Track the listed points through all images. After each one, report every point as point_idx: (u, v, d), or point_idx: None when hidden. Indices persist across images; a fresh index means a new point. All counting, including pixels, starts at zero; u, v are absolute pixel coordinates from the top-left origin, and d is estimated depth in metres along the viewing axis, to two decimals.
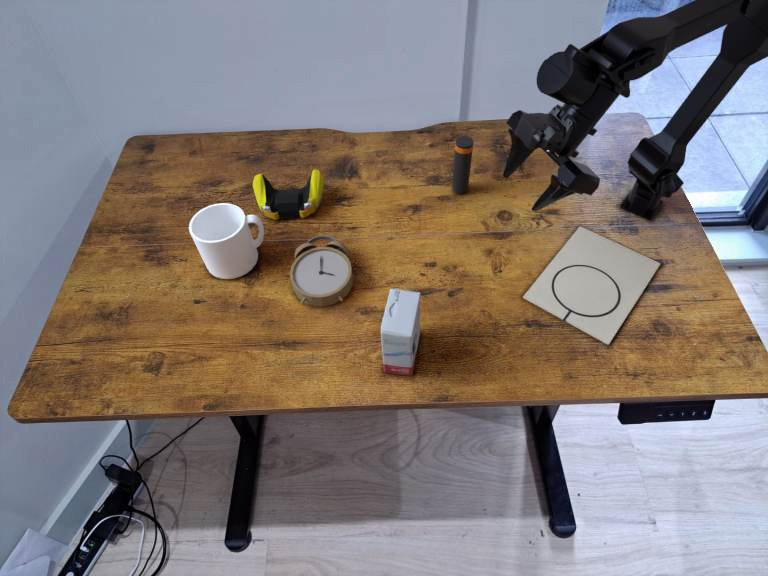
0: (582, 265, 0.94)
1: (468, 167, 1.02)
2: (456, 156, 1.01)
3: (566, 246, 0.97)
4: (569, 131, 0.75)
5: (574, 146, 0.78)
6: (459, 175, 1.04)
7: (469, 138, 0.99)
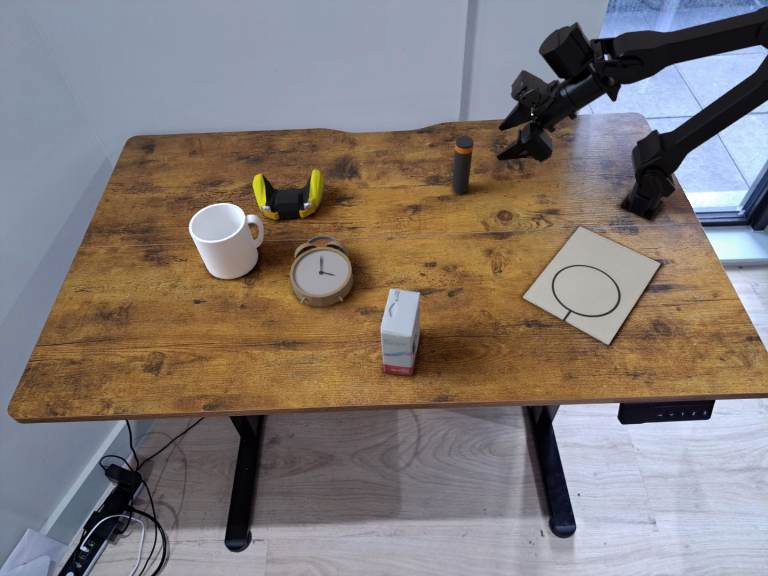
0: (582, 265, 0.94)
1: (468, 167, 1.02)
2: (456, 156, 1.01)
3: (566, 246, 0.97)
4: (550, 101, 0.87)
5: (551, 119, 0.89)
6: (459, 175, 1.04)
7: (469, 138, 0.99)
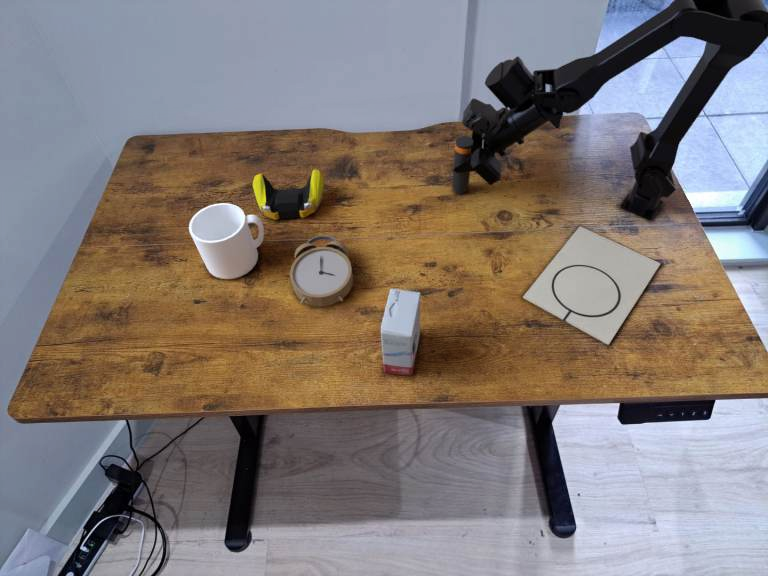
0: (582, 265, 0.94)
1: None
2: (456, 156, 1.01)
3: (566, 246, 0.97)
4: (498, 127, 0.93)
5: (500, 144, 0.95)
6: (459, 175, 1.04)
7: (469, 138, 0.99)
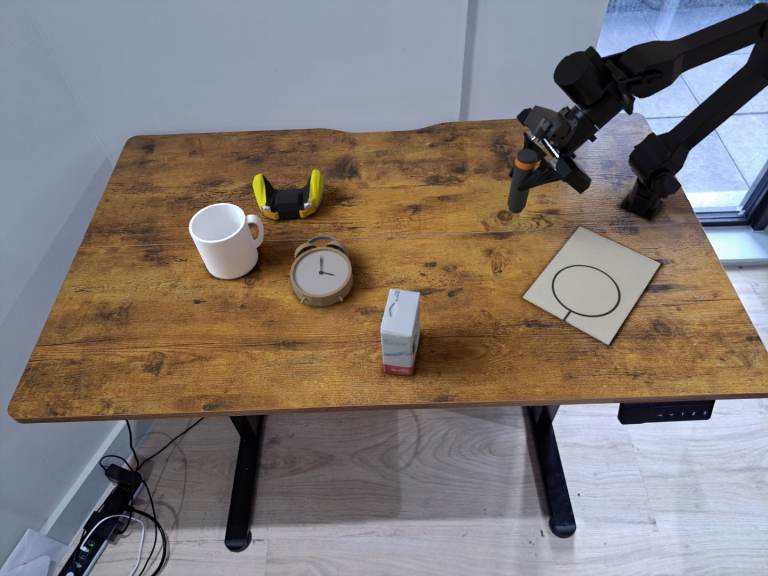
0: (582, 265, 0.94)
1: None
2: (519, 174, 0.88)
3: (566, 246, 0.97)
4: (573, 130, 0.81)
5: (574, 147, 0.84)
6: (521, 193, 0.91)
7: (529, 150, 0.87)
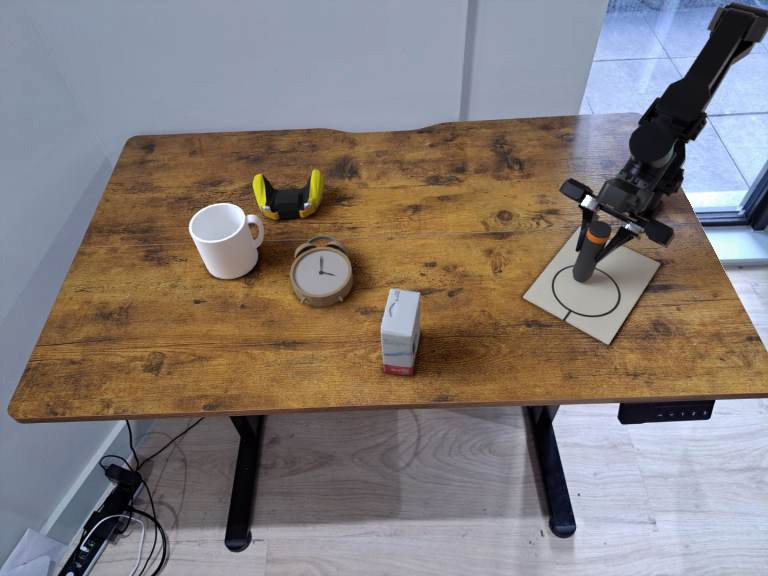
0: None
1: None
2: (597, 248, 0.83)
3: (566, 246, 0.97)
4: None
5: None
6: (595, 263, 0.86)
7: (598, 222, 0.82)
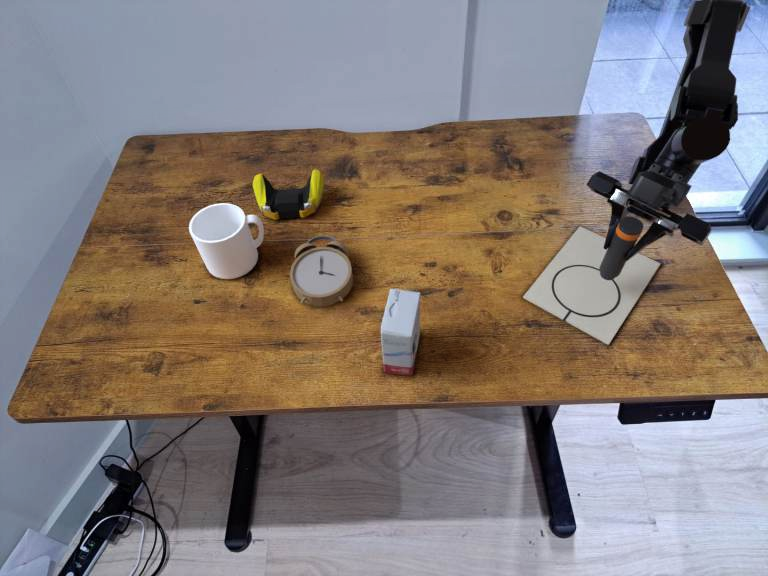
0: (582, 265, 0.94)
1: None
2: (627, 245, 0.79)
3: (566, 246, 0.97)
4: None
5: None
6: (625, 261, 0.82)
7: (628, 218, 0.78)
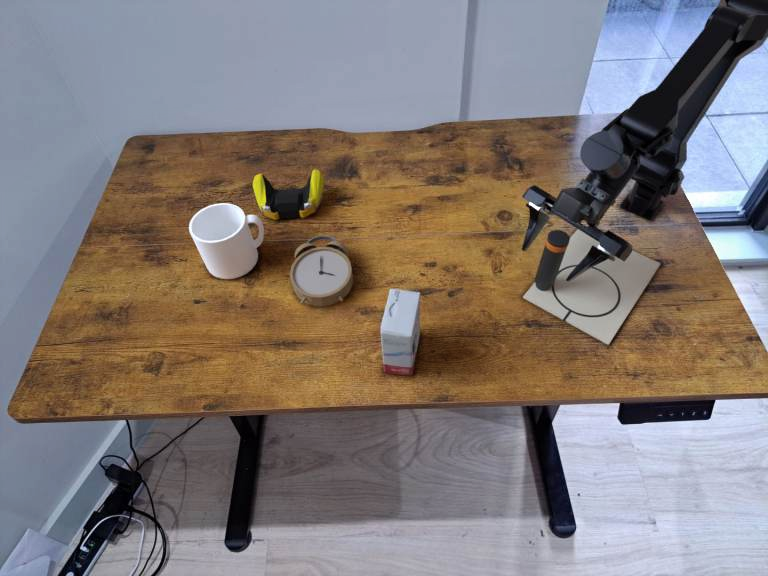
0: None
1: None
2: (555, 257, 0.83)
3: None
4: None
5: None
6: (555, 272, 0.86)
7: (557, 231, 0.83)
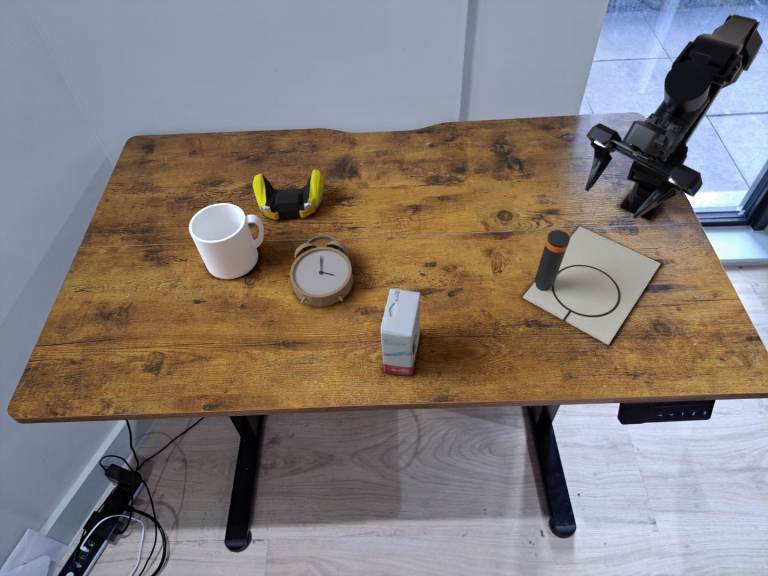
0: (582, 265, 0.94)
1: None
2: (555, 257, 0.83)
3: None
4: None
5: (670, 152, 0.81)
6: (555, 272, 0.86)
7: (557, 231, 0.83)
